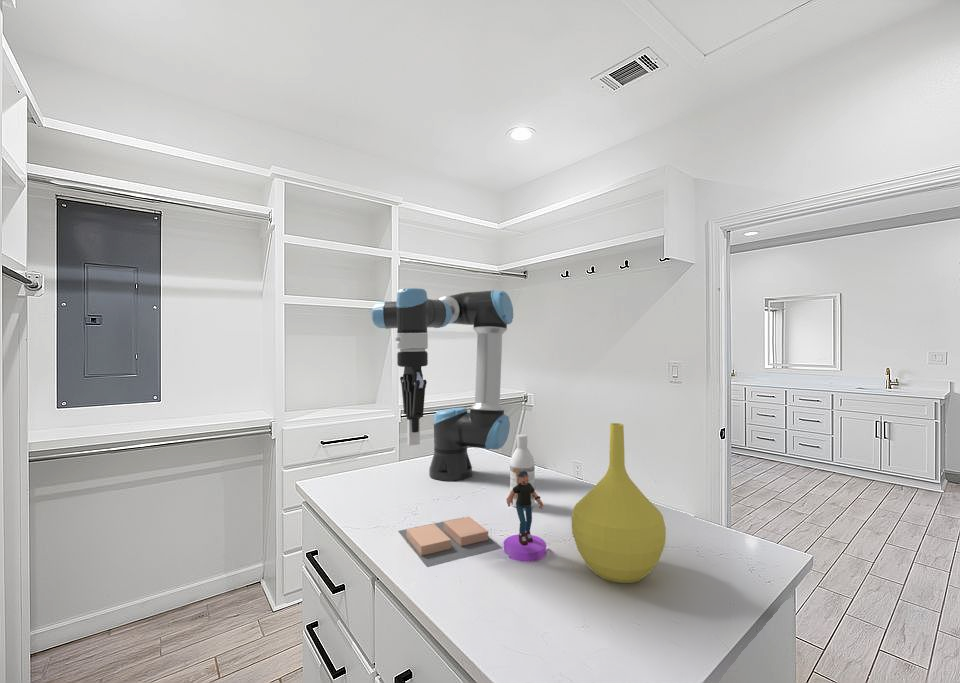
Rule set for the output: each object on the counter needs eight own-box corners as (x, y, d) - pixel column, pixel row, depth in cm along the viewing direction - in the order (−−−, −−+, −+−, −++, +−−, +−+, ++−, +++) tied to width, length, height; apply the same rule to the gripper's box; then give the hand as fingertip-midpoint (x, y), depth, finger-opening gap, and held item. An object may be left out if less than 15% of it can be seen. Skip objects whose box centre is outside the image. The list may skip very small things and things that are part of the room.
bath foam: (506, 503, 130) (505, 434, 130) (527, 499, 133) (526, 432, 133) (517, 511, 124) (517, 438, 124) (539, 507, 126) (538, 436, 126)
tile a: (469, 516, 113) (488, 531, 105) (469, 525, 113) (488, 540, 105) (443, 521, 110) (460, 537, 101) (443, 530, 110) (461, 546, 101)
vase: (656, 607, 79) (655, 437, 79) (558, 578, 88) (557, 427, 88) (673, 563, 94) (672, 421, 94) (588, 543, 104) (587, 414, 104)
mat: (464, 518, 118) (464, 517, 118) (502, 549, 101) (502, 547, 101) (397, 532, 110) (397, 530, 110) (427, 568, 92) (427, 566, 92)
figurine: (515, 565, 94) (514, 479, 94) (497, 546, 102) (496, 467, 103) (553, 556, 97) (553, 473, 97) (533, 539, 106) (532, 463, 106)
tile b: (434, 523, 109) (450, 539, 100) (434, 532, 109) (450, 549, 100) (406, 529, 106) (421, 546, 97) (406, 538, 106) (421, 556, 97)
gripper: (390, 350, 116) (391, 440, 117) (406, 351, 105) (407, 452, 105) (417, 349, 120) (418, 437, 120) (436, 350, 108) (437, 448, 109)
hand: (413, 444), depth 113 cm, fingers closed
